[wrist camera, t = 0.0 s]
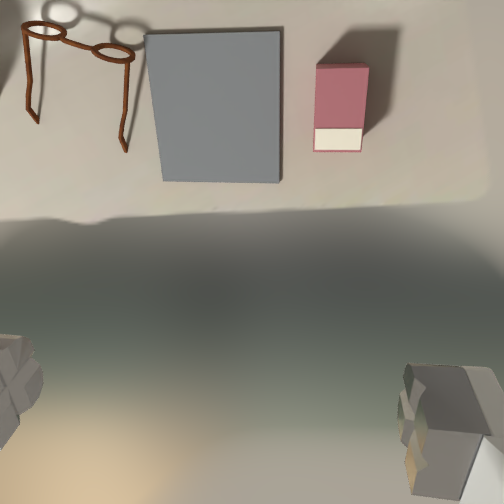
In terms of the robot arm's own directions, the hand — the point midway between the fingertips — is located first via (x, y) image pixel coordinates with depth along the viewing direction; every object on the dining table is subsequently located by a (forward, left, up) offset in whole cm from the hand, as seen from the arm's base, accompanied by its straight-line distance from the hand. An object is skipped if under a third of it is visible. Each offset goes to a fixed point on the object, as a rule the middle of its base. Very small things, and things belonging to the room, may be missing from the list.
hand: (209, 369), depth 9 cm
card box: (+3, +5, -48) cm, 49 cm away
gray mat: (+4, -10, -48) cm, 49 cm away
